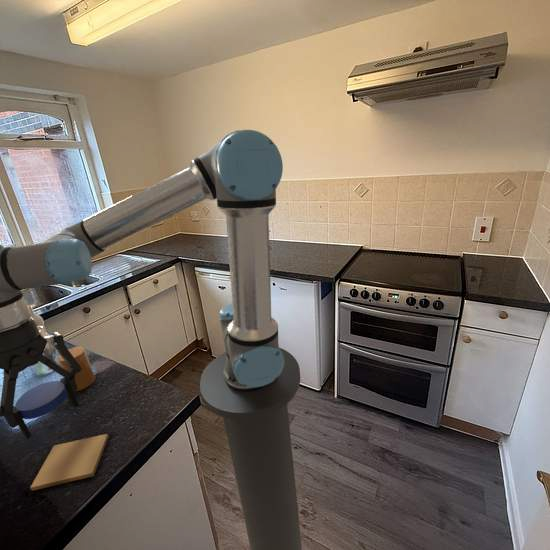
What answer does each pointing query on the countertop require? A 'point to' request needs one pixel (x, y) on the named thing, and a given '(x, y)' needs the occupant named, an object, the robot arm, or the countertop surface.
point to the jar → (86, 373)
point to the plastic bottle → (40, 324)
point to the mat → (71, 462)
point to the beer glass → (40, 367)
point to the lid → (41, 399)
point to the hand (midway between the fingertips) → (52, 418)
